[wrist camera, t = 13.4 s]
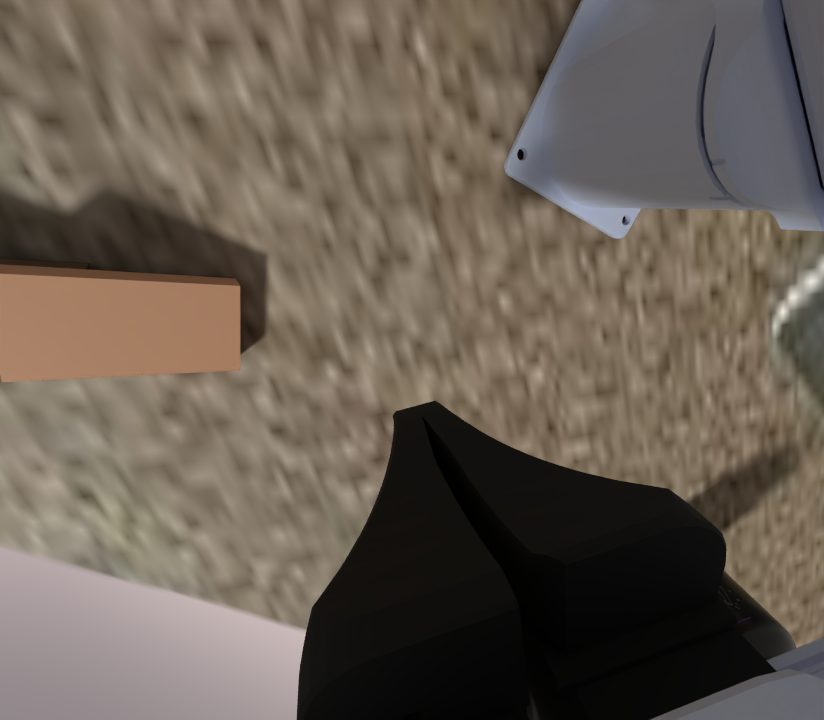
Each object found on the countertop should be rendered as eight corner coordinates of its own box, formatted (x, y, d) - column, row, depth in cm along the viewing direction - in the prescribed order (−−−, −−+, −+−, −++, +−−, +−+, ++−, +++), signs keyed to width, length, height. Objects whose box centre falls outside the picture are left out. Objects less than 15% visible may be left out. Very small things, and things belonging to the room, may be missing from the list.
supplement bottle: (661, 515, 31) (841, 681, 20) (698, 544, 34) (874, 705, 23) (601, 570, 32) (741, 756, 21) (641, 595, 35) (784, 770, 24)
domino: (240, 285, 17) (-24, 272, 13) (240, 369, 18) (2, 382, 14) (236, 278, 18) (-6, 263, 14) (236, 357, 19) (17, 365, 15)
